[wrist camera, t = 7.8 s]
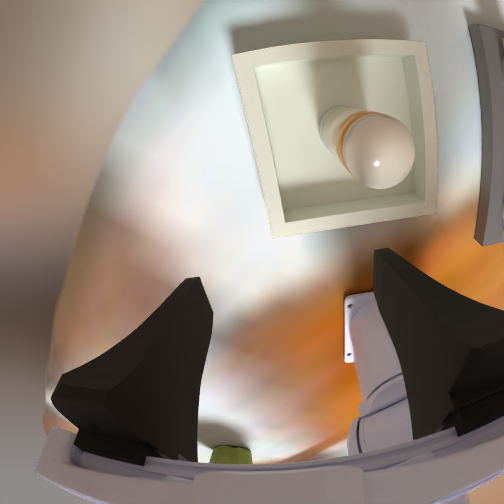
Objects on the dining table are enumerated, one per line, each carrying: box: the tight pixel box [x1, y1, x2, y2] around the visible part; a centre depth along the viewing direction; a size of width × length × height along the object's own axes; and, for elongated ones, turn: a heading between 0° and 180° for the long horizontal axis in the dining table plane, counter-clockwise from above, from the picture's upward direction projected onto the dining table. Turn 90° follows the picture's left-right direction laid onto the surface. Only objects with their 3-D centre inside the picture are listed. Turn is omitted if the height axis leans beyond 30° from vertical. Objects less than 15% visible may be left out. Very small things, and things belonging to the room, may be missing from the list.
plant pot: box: [209, 446, 252, 464], centre depth 42 cm, size 12×12×11 cm
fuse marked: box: [319, 105, 415, 189], centre depth 14 cm, size 4×4×7 cm
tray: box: [231, 39, 438, 239], centre depth 17 cm, size 12×12×3 cm
